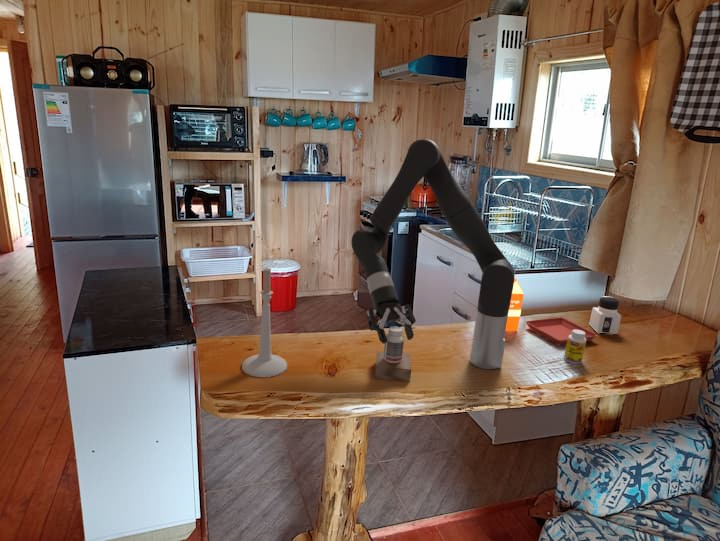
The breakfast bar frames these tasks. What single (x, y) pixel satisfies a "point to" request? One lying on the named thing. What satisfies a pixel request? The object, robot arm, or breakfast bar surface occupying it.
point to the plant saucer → (557, 329)
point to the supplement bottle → (575, 347)
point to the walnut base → (393, 368)
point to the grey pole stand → (265, 341)
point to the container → (606, 316)
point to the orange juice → (515, 307)
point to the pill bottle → (394, 345)
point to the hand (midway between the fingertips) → (398, 340)
